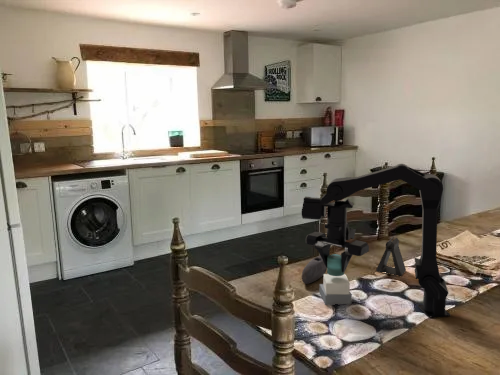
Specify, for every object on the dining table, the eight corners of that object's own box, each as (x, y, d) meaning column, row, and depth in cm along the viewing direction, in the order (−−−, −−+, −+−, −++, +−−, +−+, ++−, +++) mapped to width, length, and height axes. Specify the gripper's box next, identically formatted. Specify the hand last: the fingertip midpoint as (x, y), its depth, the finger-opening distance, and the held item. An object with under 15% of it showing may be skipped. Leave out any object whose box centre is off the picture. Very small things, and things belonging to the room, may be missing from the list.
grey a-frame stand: (375, 271, 145) (377, 239, 143) (381, 265, 150) (382, 235, 148) (401, 276, 140) (403, 244, 138) (406, 271, 145) (407, 239, 142)
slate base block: (351, 305, 121) (351, 294, 120) (325, 306, 121) (325, 295, 120) (343, 293, 129) (344, 283, 128) (319, 294, 128) (319, 284, 128)
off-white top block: (349, 294, 120) (349, 283, 120) (325, 294, 121) (326, 283, 120) (345, 284, 127) (345, 274, 127) (323, 284, 128) (323, 274, 127)
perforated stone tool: (309, 289, 132) (309, 269, 130) (295, 285, 135) (295, 265, 134) (330, 274, 143) (330, 256, 142) (317, 270, 146) (317, 252, 145)
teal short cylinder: (346, 275, 121) (346, 260, 120) (329, 276, 120) (329, 260, 119) (341, 269, 126) (341, 254, 125) (325, 269, 126) (325, 254, 125)
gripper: (377, 220, 120) (375, 269, 123) (323, 211, 132) (323, 255, 135) (360, 228, 112) (359, 280, 115) (305, 218, 124) (304, 265, 127)
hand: (335, 269), depth 123 cm, fingers closed on teal short cylinder, 5 cm apart
